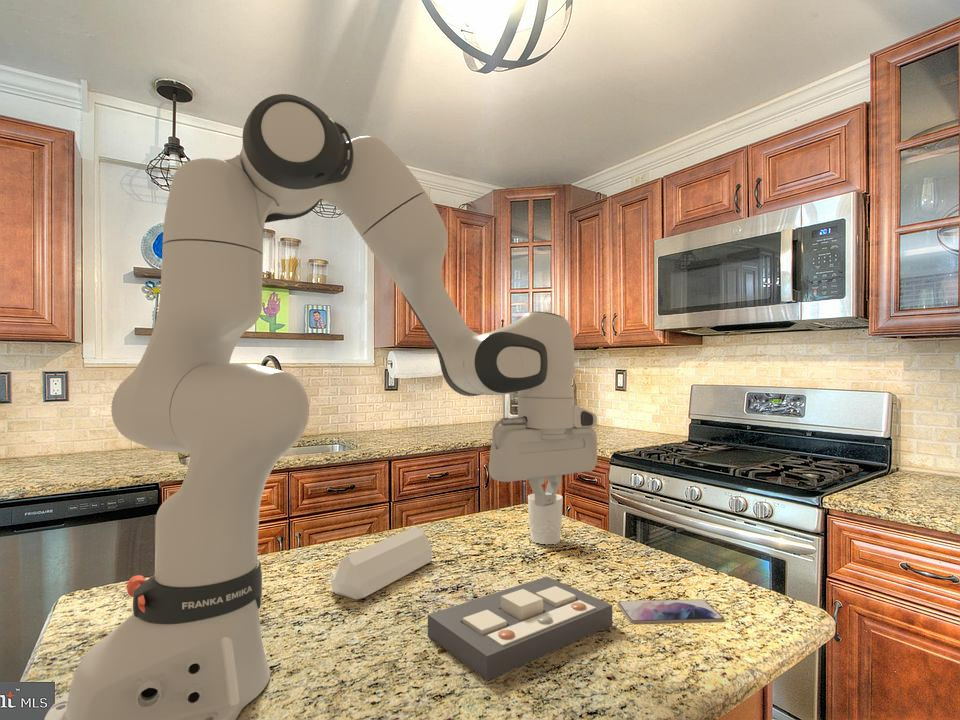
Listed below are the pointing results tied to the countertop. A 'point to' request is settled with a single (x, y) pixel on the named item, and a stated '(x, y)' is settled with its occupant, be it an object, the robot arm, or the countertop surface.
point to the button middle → (522, 604)
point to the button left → (484, 622)
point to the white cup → (545, 521)
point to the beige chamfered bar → (381, 563)
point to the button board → (517, 629)
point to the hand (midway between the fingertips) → (545, 504)
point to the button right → (556, 596)
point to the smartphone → (669, 611)
